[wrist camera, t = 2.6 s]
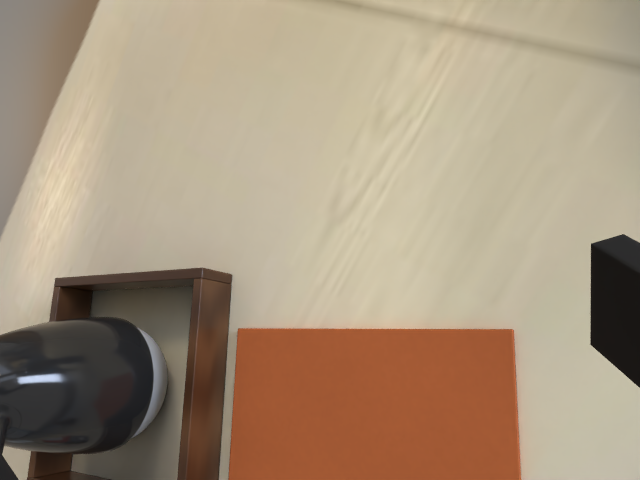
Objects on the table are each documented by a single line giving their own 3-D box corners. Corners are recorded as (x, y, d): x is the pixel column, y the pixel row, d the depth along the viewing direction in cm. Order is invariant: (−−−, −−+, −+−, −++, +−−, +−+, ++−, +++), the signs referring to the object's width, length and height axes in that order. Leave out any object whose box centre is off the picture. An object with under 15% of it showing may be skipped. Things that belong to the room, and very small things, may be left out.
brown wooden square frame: (88, 283, 50) (54, 278, 47) (232, 274, 42) (202, 267, 39) (63, 479, 46) (25, 487, 43) (216, 514, 38) (181, 526, 35)
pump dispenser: (136, 475, 42) (-76, 524, 29) (86, 380, 48) (-113, 385, 35) (209, 385, 41) (17, 395, 28) (149, 296, 46) (-36, 269, 33)
